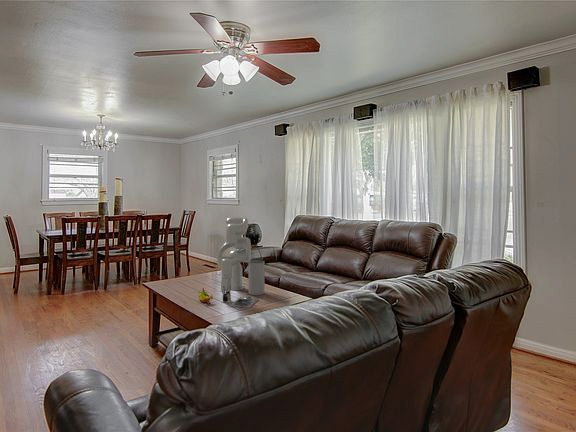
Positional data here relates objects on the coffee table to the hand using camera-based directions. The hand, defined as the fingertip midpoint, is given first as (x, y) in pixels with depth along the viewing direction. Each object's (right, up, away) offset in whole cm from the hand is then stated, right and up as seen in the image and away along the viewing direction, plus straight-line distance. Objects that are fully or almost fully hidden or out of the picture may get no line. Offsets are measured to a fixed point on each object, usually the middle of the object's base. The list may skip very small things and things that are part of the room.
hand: (226, 300), depth 270 cm
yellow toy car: (-16, -1, 0) cm, 17 cm away
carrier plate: (+14, -1, -3) cm, 14 cm away
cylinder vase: (+20, 0, +22) cm, 30 cm away
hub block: (0, -1, 0) cm, 1 cm away
